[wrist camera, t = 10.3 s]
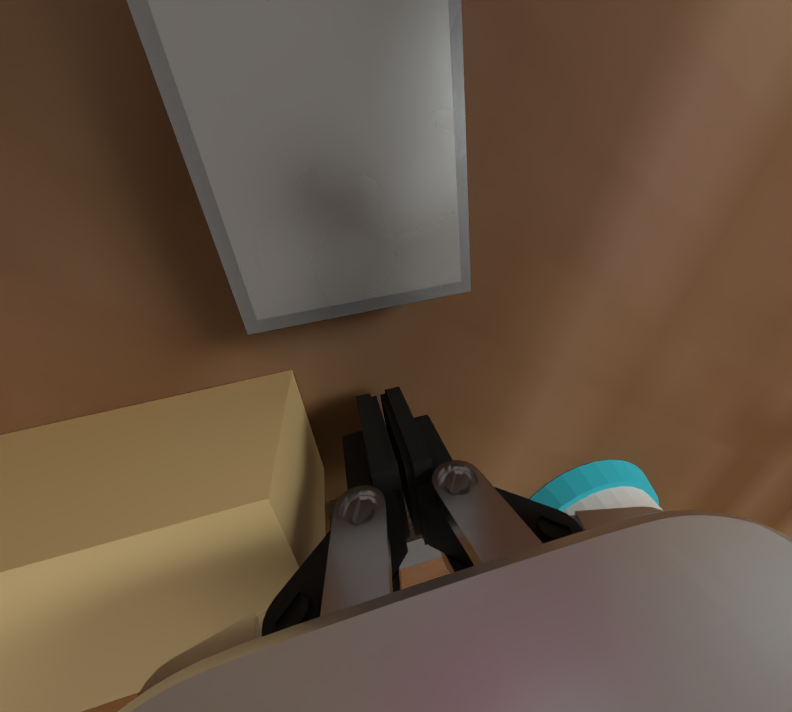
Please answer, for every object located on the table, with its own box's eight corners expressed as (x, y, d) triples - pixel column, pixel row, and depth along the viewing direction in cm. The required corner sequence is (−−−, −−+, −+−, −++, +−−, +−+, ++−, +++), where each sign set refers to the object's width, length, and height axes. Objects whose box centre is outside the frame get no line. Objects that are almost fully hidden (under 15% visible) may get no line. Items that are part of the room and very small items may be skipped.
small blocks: (135, -100, 7) (-7, -345, 4) (405, -102, 8) (459, -305, 5) (336, 523, 15) (340, 596, 12) (453, 490, 16) (482, 551, 13)
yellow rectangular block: (-87, 454, 10) (-551, 724, 5) (291, 369, 12) (267, 498, 6) (15, 552, 12) (-223, 814, 7) (324, 469, 14) (326, 628, 8)
